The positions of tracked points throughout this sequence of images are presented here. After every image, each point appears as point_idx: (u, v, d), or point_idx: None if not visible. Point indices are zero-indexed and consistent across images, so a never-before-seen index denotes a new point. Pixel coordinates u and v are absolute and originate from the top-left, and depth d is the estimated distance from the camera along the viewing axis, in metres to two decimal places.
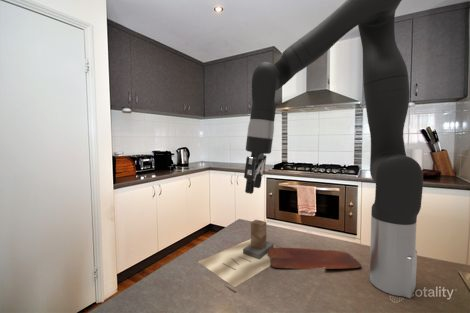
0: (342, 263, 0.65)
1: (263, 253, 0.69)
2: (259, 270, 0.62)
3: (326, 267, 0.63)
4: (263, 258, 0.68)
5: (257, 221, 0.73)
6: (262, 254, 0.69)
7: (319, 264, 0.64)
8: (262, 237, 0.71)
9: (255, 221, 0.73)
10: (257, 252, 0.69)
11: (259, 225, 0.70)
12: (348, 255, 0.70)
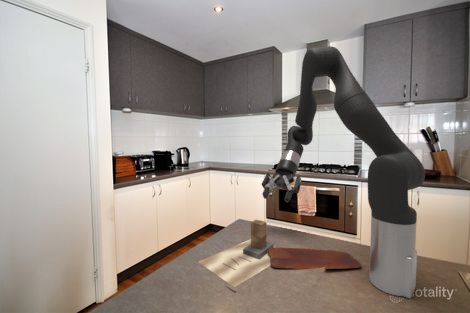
0: (342, 263, 0.65)
1: (263, 253, 0.69)
2: (259, 270, 0.62)
3: (326, 267, 0.63)
4: (263, 258, 0.68)
5: (257, 221, 0.73)
6: (262, 254, 0.69)
7: (319, 264, 0.64)
8: (262, 237, 0.71)
9: (255, 221, 0.73)
10: (257, 252, 0.69)
11: (259, 225, 0.70)
12: (348, 255, 0.70)
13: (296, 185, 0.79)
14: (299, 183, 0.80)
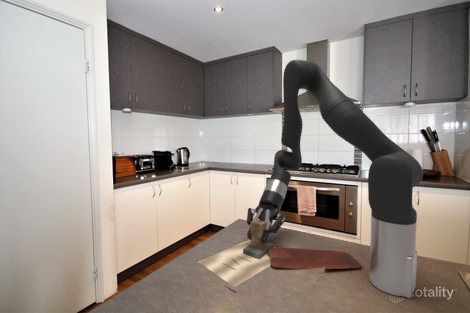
0: (342, 263, 0.65)
1: (263, 253, 0.69)
2: (259, 270, 0.62)
3: (326, 267, 0.63)
4: (263, 258, 0.68)
5: (257, 221, 0.73)
6: (262, 254, 0.69)
7: (319, 264, 0.64)
8: None
9: (255, 221, 0.73)
10: (257, 252, 0.69)
11: (259, 225, 0.70)
12: (348, 255, 0.70)
13: (274, 225, 0.70)
14: (279, 223, 0.71)
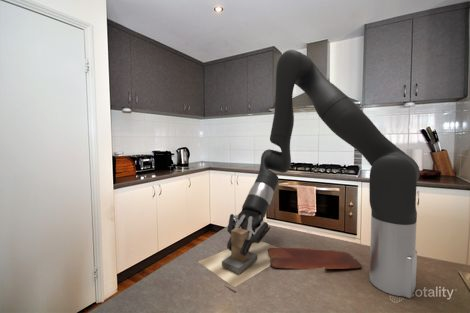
0: (342, 263, 0.65)
1: (244, 266, 0.61)
2: (259, 270, 0.62)
3: (326, 267, 0.63)
4: (263, 258, 0.68)
5: (238, 230, 0.65)
6: (243, 267, 0.61)
7: (319, 264, 0.64)
8: None
9: (236, 229, 0.65)
10: (237, 265, 0.61)
11: (240, 234, 0.62)
12: (348, 255, 0.70)
13: (257, 234, 0.62)
14: (263, 232, 0.63)
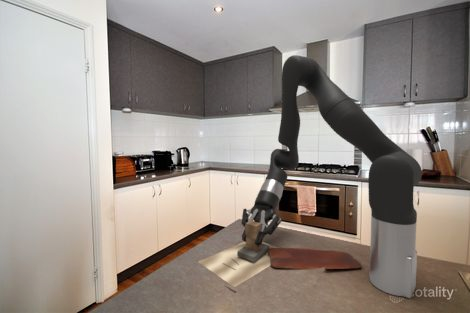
0: (342, 263, 0.65)
1: (258, 256, 0.67)
2: (259, 270, 0.62)
3: (326, 267, 0.63)
4: (263, 258, 0.68)
5: (252, 223, 0.70)
6: (257, 257, 0.67)
7: (319, 264, 0.64)
8: None
9: (250, 222, 0.70)
10: (252, 255, 0.66)
11: (254, 226, 0.68)
12: (348, 255, 0.70)
13: (270, 226, 0.68)
14: (275, 224, 0.69)
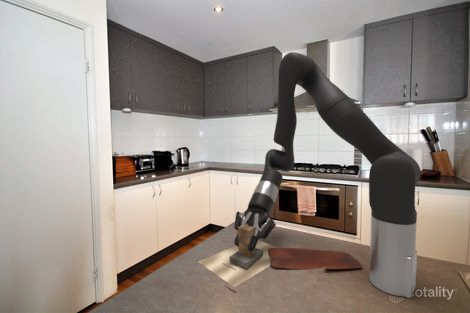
0: (342, 263, 0.65)
1: (251, 261, 0.64)
2: (259, 270, 0.62)
3: (326, 267, 0.63)
4: (263, 258, 0.68)
5: (245, 227, 0.67)
6: (250, 262, 0.63)
7: (319, 264, 0.64)
8: None
9: (243, 226, 0.67)
10: (245, 260, 0.63)
11: (247, 231, 0.65)
12: (348, 255, 0.70)
13: (263, 230, 0.65)
14: (269, 228, 0.66)
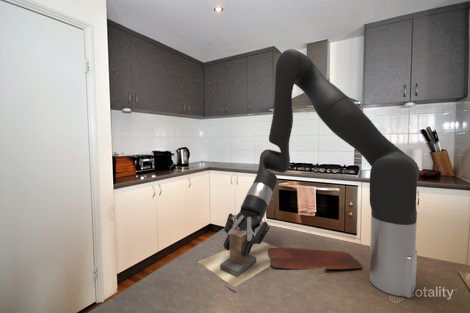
0: (342, 263, 0.65)
1: (242, 269, 0.61)
2: (259, 270, 0.62)
3: (326, 267, 0.63)
4: (263, 258, 0.68)
5: (236, 232, 0.64)
6: (241, 271, 0.60)
7: (319, 264, 0.64)
8: None
9: (235, 232, 0.64)
10: (236, 268, 0.60)
11: (238, 237, 0.62)
12: (349, 255, 0.70)
13: (258, 234, 0.61)
14: (263, 232, 0.62)
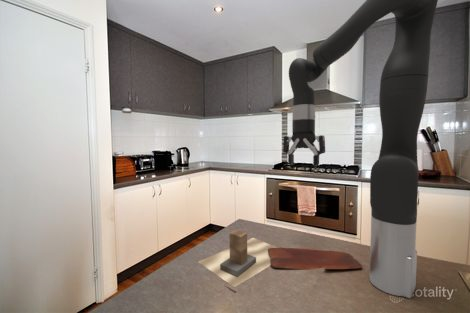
0: (343, 263, 0.65)
1: (242, 269, 0.61)
2: (259, 270, 0.62)
3: (326, 267, 0.63)
4: (263, 258, 0.68)
5: (236, 232, 0.64)
6: (241, 271, 0.60)
7: (319, 264, 0.64)
8: (242, 251, 0.62)
9: (235, 232, 0.64)
10: (236, 268, 0.60)
11: (238, 237, 0.62)
12: (349, 256, 0.70)
13: (321, 148, 0.74)
14: (323, 143, 0.75)
